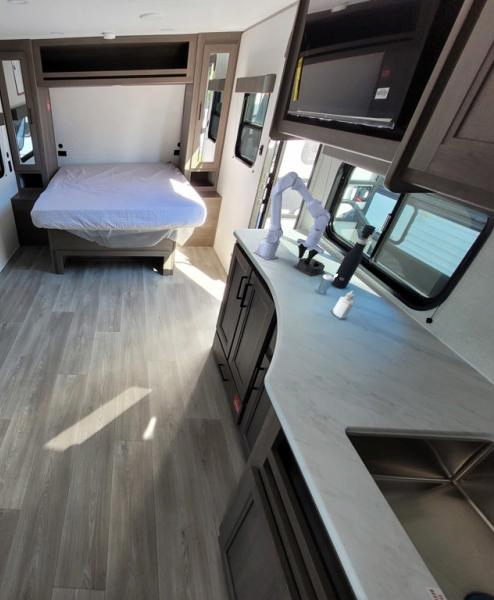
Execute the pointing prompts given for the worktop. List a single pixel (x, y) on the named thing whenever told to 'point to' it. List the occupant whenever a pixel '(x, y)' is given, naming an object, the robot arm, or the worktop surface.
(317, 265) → the ring
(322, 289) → the milkshake
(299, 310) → the worktop surface
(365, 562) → the worktop surface
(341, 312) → the eye dropper bottle
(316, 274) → the stand
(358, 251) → the black thermos flask
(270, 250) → the robot arm
